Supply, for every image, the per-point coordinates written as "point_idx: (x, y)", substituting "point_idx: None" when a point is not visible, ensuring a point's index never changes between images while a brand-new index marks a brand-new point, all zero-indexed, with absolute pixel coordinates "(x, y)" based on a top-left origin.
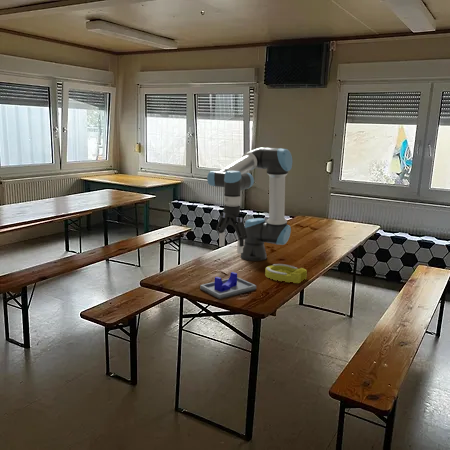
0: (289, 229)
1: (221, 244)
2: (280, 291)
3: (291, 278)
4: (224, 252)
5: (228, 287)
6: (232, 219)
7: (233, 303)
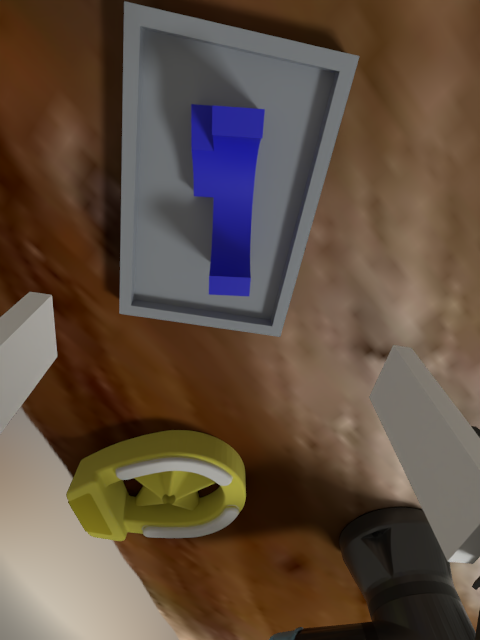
0: None
1: (394, 376)
2: None
3: (95, 464)
4: None
5: (194, 178)
6: None
7: (18, 24)
